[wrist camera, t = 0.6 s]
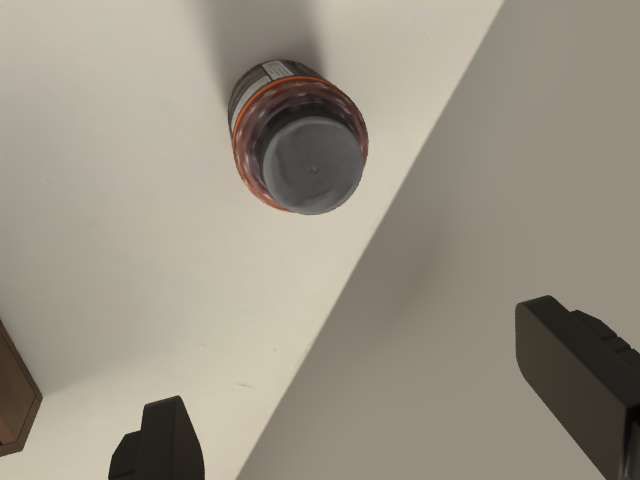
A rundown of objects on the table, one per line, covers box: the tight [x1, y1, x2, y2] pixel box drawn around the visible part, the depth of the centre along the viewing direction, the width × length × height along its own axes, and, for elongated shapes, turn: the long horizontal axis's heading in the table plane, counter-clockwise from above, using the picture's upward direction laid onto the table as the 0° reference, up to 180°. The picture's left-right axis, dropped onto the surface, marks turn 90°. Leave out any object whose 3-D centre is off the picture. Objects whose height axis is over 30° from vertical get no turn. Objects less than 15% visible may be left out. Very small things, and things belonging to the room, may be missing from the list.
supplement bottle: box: [228, 60, 368, 215], centre depth 26 cm, size 6×6×11 cm
